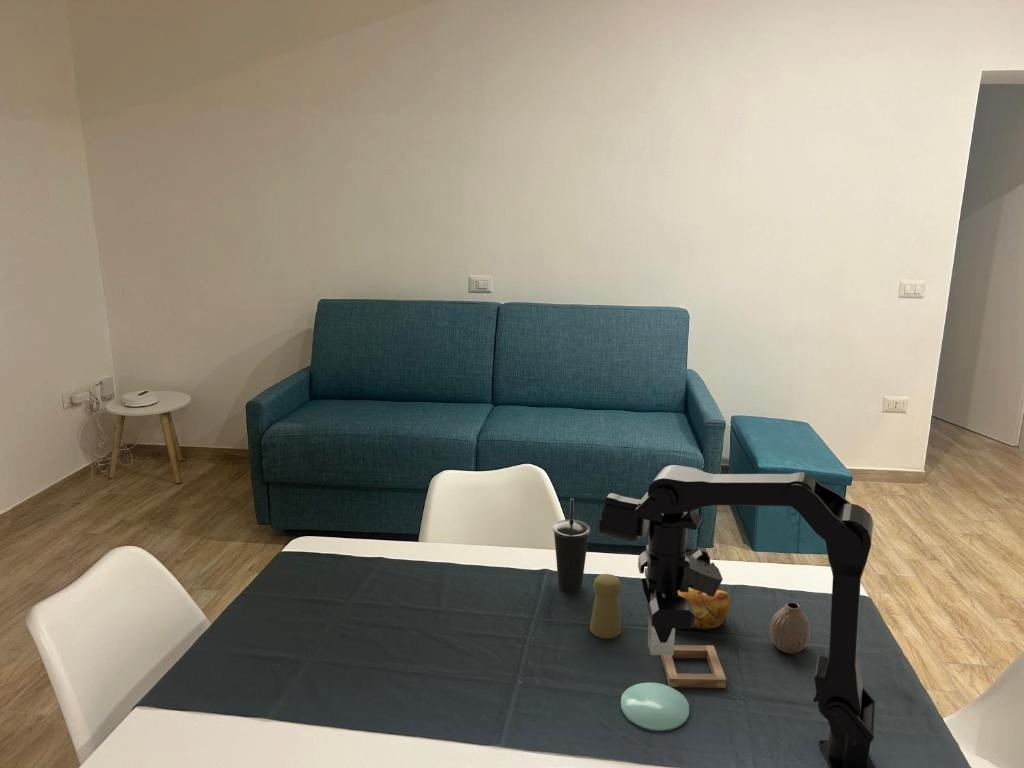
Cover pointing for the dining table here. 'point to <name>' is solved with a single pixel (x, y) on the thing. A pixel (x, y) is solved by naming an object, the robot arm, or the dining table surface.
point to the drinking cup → (570, 552)
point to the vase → (790, 629)
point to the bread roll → (708, 608)
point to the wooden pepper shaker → (606, 607)
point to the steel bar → (653, 639)
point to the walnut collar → (694, 680)
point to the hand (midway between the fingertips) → (661, 634)
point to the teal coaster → (655, 706)
